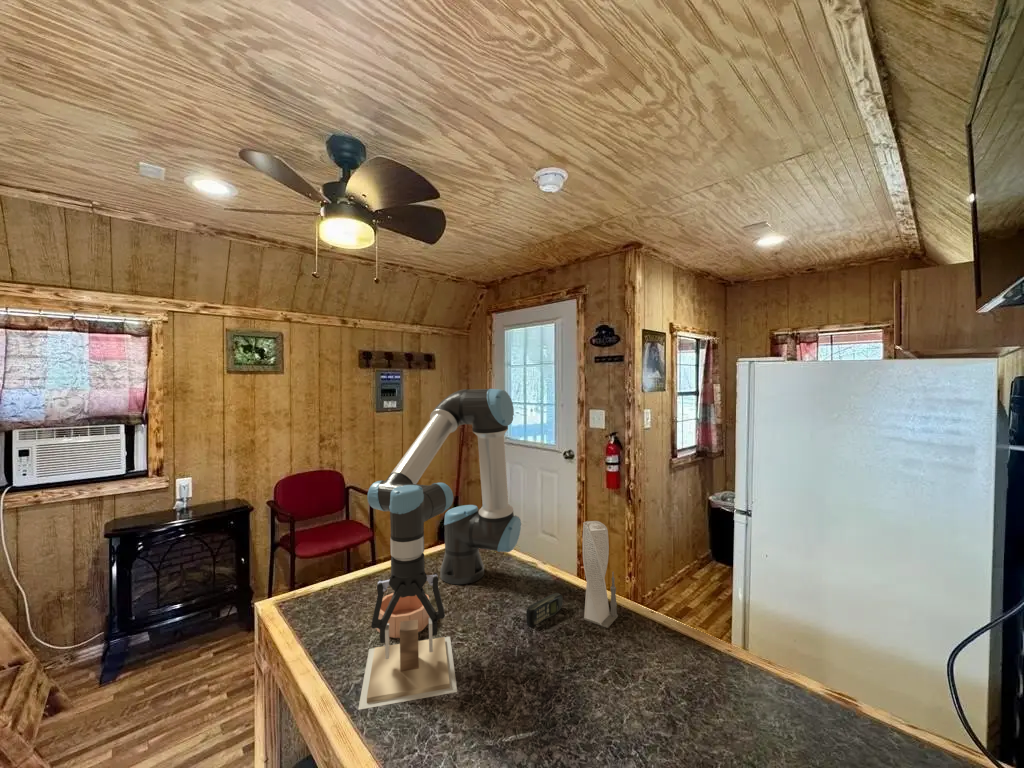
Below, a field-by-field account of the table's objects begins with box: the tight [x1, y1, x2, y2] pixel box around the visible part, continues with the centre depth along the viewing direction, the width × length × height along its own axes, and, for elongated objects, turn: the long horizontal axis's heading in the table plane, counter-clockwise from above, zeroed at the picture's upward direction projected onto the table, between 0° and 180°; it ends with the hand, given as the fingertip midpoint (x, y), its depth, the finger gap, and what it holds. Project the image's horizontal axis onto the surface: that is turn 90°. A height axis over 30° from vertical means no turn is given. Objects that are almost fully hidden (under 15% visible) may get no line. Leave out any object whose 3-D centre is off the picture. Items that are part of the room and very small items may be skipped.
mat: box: [358, 636, 458, 711], centre depth 96 cm, size 20×20×1 cm
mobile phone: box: [525, 592, 564, 628], centre depth 118 cm, size 5×3×15 cm
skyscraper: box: [582, 520, 619, 629], centre depth 116 cm, size 8×8×28 cm
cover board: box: [367, 619, 450, 703], centre depth 96 cm, size 17×17×10 cm
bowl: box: [376, 592, 430, 639], centre depth 115 cm, size 14×14×6 cm
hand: (409, 651), depth 96 cm, fingers open, 9 cm apart
